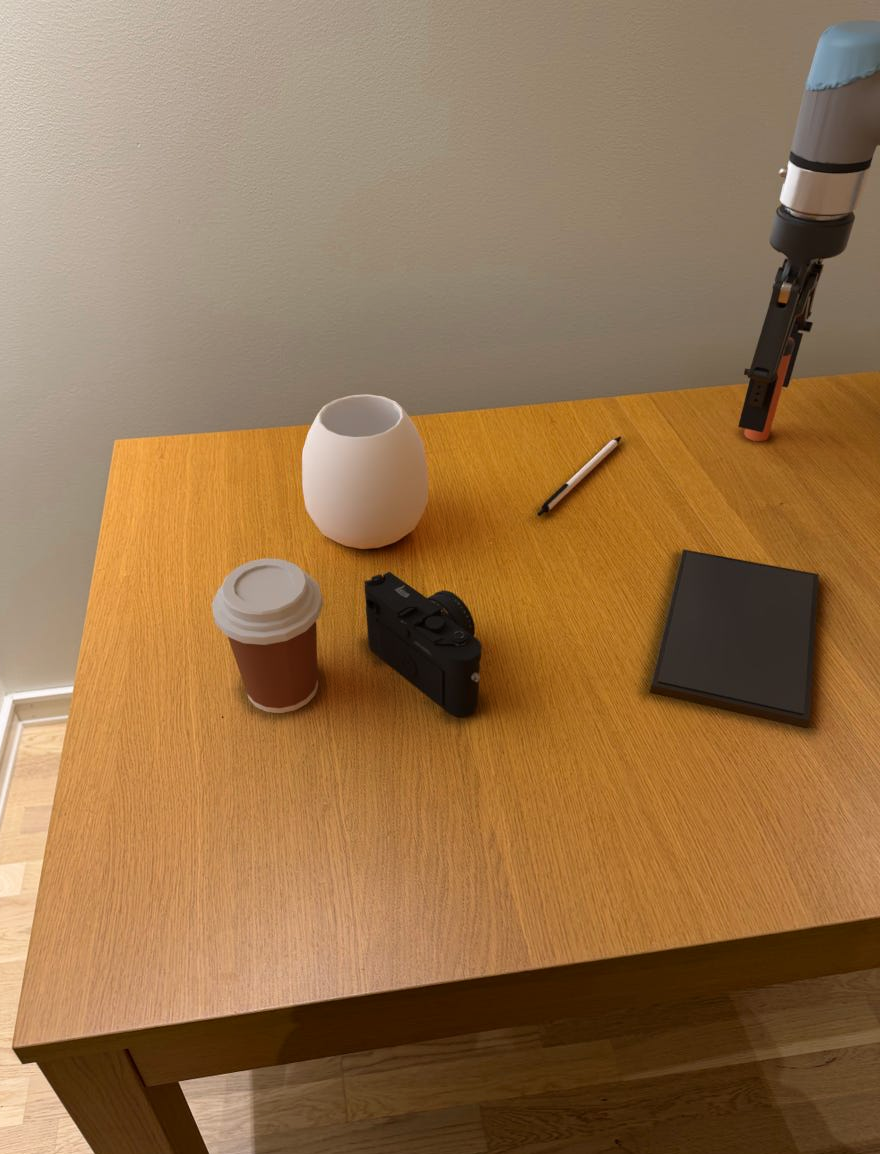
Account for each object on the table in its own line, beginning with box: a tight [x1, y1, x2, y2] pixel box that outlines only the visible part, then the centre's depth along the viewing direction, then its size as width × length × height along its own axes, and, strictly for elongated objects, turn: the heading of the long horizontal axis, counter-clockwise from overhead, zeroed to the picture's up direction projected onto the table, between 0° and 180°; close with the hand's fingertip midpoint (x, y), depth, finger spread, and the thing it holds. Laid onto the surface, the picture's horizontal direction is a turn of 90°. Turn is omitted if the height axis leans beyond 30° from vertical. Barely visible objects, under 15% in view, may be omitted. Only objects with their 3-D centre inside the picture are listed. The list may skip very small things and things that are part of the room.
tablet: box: [649, 549, 820, 729], centre depth 85 cm, size 20×13×1 cm, turn 160°
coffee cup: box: [211, 557, 324, 714], centre depth 78 cm, size 9×9×12 cm
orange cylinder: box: [743, 337, 795, 442], centre depth 106 cm, size 3×3×12 cm
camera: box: [363, 571, 483, 718], centre depth 81 cm, size 14×7×8 cm, turn 41°
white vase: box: [301, 393, 430, 550], centre depth 95 cm, size 13×13×14 cm
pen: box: [537, 435, 622, 517], centre depth 104 cm, size 1×19×1 cm, turn 143°
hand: (764, 405), depth 107 cm, fingers open, 11 cm apart
